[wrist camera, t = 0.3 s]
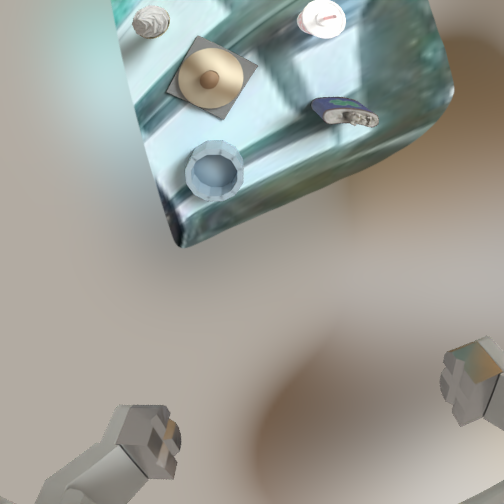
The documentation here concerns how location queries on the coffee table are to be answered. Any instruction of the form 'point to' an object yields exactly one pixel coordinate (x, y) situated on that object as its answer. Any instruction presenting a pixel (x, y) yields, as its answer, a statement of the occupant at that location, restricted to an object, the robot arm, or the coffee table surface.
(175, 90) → the mat
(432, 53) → the coffee table surface
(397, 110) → the coffee table surface
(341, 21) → the beverage cup
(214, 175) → the bowl
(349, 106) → the flask
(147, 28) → the ice cream cone
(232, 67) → the lid
